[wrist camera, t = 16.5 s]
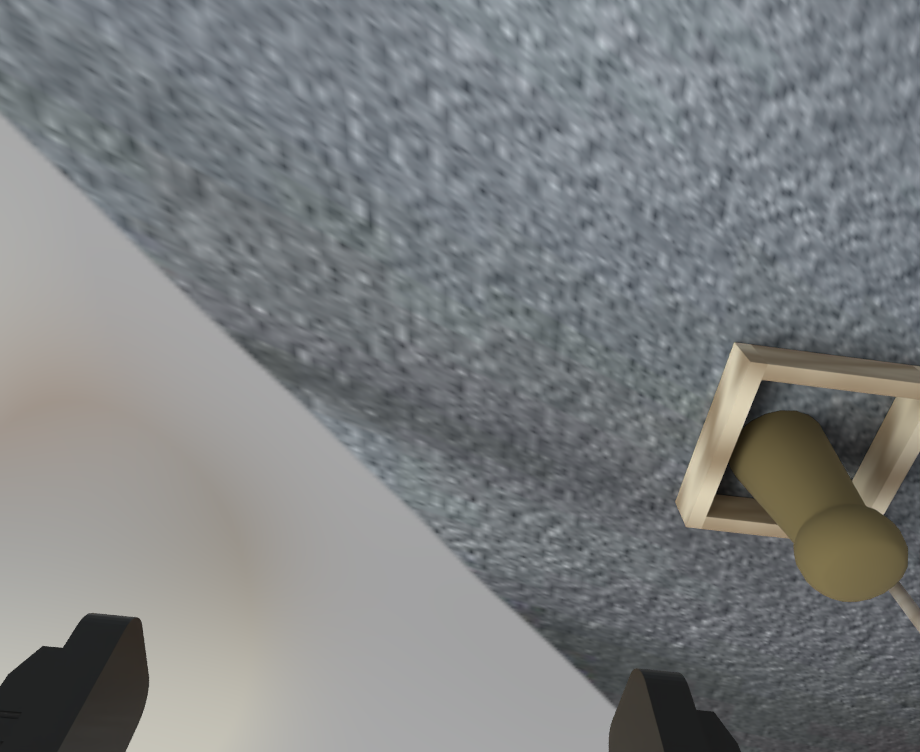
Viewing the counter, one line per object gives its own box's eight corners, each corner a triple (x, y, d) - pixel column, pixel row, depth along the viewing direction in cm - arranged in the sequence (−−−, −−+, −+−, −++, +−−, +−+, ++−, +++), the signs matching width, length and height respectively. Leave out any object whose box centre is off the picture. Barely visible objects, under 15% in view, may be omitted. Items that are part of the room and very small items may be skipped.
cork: (841, 418, 42) (955, 540, 32) (800, 493, 44) (894, 627, 35) (749, 403, 41) (837, 523, 31) (714, 480, 44) (784, 612, 34)
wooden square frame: (734, 342, 39) (885, 527, 25) (940, 369, 40) (1200, 562, 26) (655, 554, 47) (737, 785, 33) (829, 573, 48) (980, 806, 34)
